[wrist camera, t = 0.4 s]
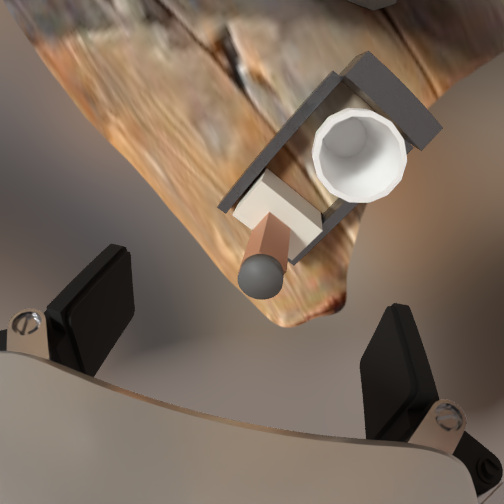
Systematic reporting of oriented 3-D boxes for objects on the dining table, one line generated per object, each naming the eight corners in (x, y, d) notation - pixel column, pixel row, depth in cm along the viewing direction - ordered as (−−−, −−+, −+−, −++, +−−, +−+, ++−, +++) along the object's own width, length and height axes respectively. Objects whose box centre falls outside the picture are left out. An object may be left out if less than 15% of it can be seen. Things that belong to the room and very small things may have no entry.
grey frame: (222, 199, 47) (207, 222, 40) (350, 51, 34) (361, 44, 27) (294, 255, 50) (292, 285, 43) (424, 124, 37) (448, 134, 30)
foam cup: (360, 91, 36) (385, 95, 25) (388, 152, 40) (419, 181, 29) (297, 119, 40) (295, 135, 29) (327, 179, 43) (336, 216, 32)
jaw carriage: (238, 200, 47) (206, 265, 32) (266, 167, 43) (245, 220, 28) (291, 241, 49) (283, 320, 34) (320, 212, 46) (327, 284, 31)
